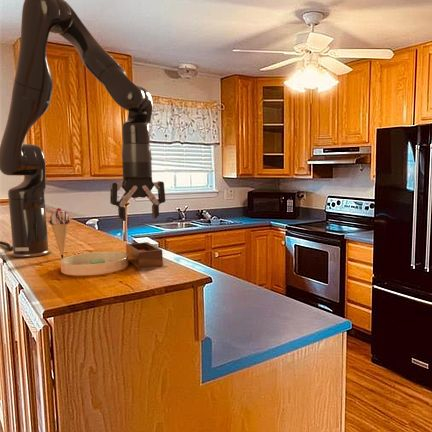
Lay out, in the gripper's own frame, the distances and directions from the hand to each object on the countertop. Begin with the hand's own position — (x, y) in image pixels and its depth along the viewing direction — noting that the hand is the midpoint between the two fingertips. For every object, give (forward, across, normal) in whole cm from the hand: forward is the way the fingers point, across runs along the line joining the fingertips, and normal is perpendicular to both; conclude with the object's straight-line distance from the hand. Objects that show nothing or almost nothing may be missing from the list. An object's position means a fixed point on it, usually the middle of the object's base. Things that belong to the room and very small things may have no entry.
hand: (139, 219), depth 118 cm
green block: (+12, +12, +4) cm, 17 cm away
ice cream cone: (+12, +18, -16) cm, 27 cm away
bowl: (+12, +12, +1) cm, 17 cm away
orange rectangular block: (+11, 0, 0) cm, 11 cm away
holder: (+12, 0, +3) cm, 12 cm away
